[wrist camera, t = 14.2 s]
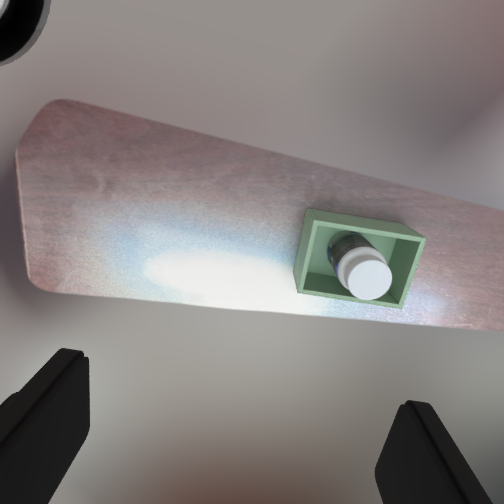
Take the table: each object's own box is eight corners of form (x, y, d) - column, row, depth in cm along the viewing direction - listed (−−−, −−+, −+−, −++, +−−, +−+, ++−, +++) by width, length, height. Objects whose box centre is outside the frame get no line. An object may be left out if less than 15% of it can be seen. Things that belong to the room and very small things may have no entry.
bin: (292, 271, 39) (297, 292, 34) (306, 207, 36) (313, 219, 31) (383, 286, 39) (402, 309, 34) (403, 223, 36) (427, 238, 31)
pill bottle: (317, 250, 37) (331, 280, 29) (349, 221, 36) (373, 245, 28) (344, 277, 38) (366, 313, 30) (376, 249, 37) (407, 280, 29)
